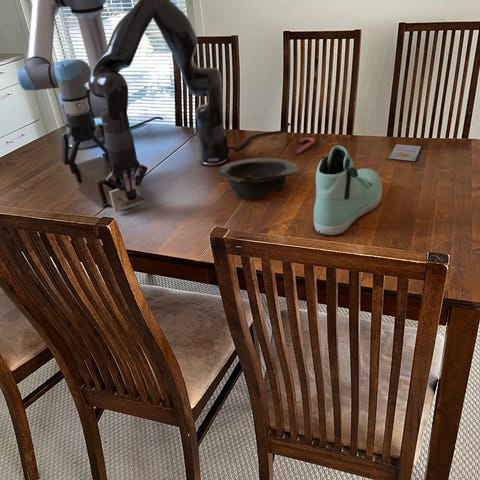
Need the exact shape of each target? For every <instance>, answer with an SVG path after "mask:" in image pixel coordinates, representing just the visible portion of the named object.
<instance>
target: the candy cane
mask: <svg viewBox="0 0 480 480" xmlns="http://www.w3.org/2000/svg"><path fill="white" fill-rule="evenodd" d="M304 142H308V143H306V144H305V145H303V146H302V147H300V148H298V149H296V152H295V153H296V154H297V155H299V154H301V153H303V152H304V151H305V150H307V149H308V148H310V147H312V145H314V144H315V143H316V139H315V138H313V137H310V136H309V137H308V136H307V137H302V138H300V140H299V143H300V144H302V143H304Z"/></svg>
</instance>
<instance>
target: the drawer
mask: <svg viewBox="0 0 480 480" xmlns="http://www.w3.org/2000/svg"><path fill="white" fill-rule="evenodd" d="M115 182H117V183H118V184H120V185H122V182H121V181H120V179H119V178H116V180H115ZM100 186H101V190H102V194H103V198H104V201H105V202H107V203H108V204H109V205H108V206H110V207H112V209H113V212H114V213H118V212H121V211H125V210H127V209H129V208H132V207H135V206H137V205H140V204H142V203H143V202H142V201H145V197H144V195H141V192H140V185H139V186H136V188H135V190H136V195H137V198H136V199H133V200H130V201H129V200H127V198H126V195H125V191H121V190H119V189H118V188H116V187H115V186H114V185H112V184H111V183H109V182H108V181H107V182H104V183H101V184H100Z"/></svg>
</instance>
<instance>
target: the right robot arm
mask: <svg viewBox="0 0 480 480" xmlns="http://www.w3.org/2000/svg"><path fill="white" fill-rule="evenodd" d="M152 20H153V21H154V23H155V24H156V26H157V28H158V30H159V32H160V34H161V36H162V38H163V40H164V42H165V43H166V45H167V47H168V49H169V51H170V52H171V54H172V56H173V58H174V59H175V61H176V64H177V66H178V67H179V70H180V72H181V75H182V77H183V80H184V82H185V84H186V87H187V89H188V91H189V92H190V94H192V95H193V96H194V97H195V96H196V97H207V98H208V100H207V101H208V102H207V103H204V104H201V105H199V106H198V107H196V110H195V116H196V124H197V132H198V133H197V134H198V141H199V150H200V160H201V164H202V165H204V166H207V167H217V166H221V165H225V164H226V163H227V162H228V161H230V158H229V157H230V156H229V154H230V152H231V151H230V150H233V151H234V152H238V151H240V150H241V149H242V148H243V147H245V146H246V145H247V144H248V142H249V141H250V140H251V139H254V138H256V137H263V136H266V135H271V134H281V133H284V132H286V131H287V130H288V129H289V126H292V125H291V122H287V124H286V126H285V128H284V129H281V130H274V131H269V132H268V131H267V132H262V133H258V134H254V135H251V136H248V138H247V139H246V140H245V142H244V143H243V144H242V145H240V146H239V147H236V148H235V147H234V146H229V145H228V137H227V135H226V134H225V126H224V116H223V115H224V113H223V105H224V104H223V101H224V100H223V79H222V74H221V72H220V70H219V69H218V68H216V67H198V66H197V65H196V63H195V61H194V56H195V53H196V50H197V45H198V37H197V34H196V32H195V29H194V27H193V25H192V23H191V21H190V19H189V18H188V16H187V15H186V14H185V13H184V12H183V10H181V9H180V8H179V7H178V6H177V5H176V4H175V3H174V2H172V1H171V0H138V1H137V2H136V4H135V5H134V6H133V7H132V8H131V9H130V10H129V11H128V12H127V13H126V14H125V15H124V16H123V17H122V18H121V20H119V22H118V23H117V24H116V26H115V27H114V30H113V31H112V34H111V37H110V38H109V41H108V43H107V44H108V46H107V49H106V51H105V53H104V54H103V55H102V56H101V58H100V59H99V60H98V62H97V63H96V65H95V66H94V68H93V69H92V71H91V73H90V76H89V80H88V83H87V85H88V86H87V87H88V89H89V90H90V92H91V93H92V94H93V95H94V96H96V97H99V98H105V99H106V100H107V107H106V108H104V109H103V110H102V111H101V118H100V119H101V122H102V123H101V124H102V125H103V129H104V134H105V142H106V143H105V142H104V143H105V147H106V148H107V150H108V155H109V159H110V163H111V169H110V171H111V173H110V174H109V176H106V177H105V180H107V181H108V182H109V183H111V184H112V185H114V186H115V187H116V188H118V189H119V190H121V191H125V195H126V198H127V200H129V201H130V200H133V199H136V198H137V195H136V190H135V188H136V186H139V187H140V186H141V185H142V182H143V180H144V177H145V176H146V174H147V171H148V167H147V166H146V165H145V164H141V163H140V161H139V160H138V156H137V151H136V146H135V141H134V136H133V132H132V129H130V127H131V126H130V120H129V115H128V107H129V86H128V83H127V80H126V78H125V77H124V76H123V74H121V73H120V71H122V70H124V69H127V68H129V67H130V66H131V65H132V63H133V61H134V58H135V57H136V53H137V51H138V48H139V46H140V43H141V41H142V39H143V36H144V34H145V32H146V31H147V29H148V27H149V25H150V23H151V22H152ZM114 175H115V176H116V177H118V178H119V179H120V181H121V182H122V185H120V184H118V183H117V182H115V180H116V179H115V177H114Z"/></svg>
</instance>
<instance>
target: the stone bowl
mask: <svg viewBox="0 0 480 480" xmlns="http://www.w3.org/2000/svg"><path fill="white" fill-rule="evenodd" d="M298 170H299V169H298V167H297V166H296V164H295V163H293V162H291V161H289V160H287V159H281V158H272V157H271V158H269V157H255V158H243V159H239V160H235V161H232V162H231V161H230V162H228V163H224V164H222V166H221V168H220V169H219V170H217V173H219V174H220V175H221V176H223V177H224V178H226V179H227V180H228V182H229V186H230V188H231V190H232V191H234V192H235V193H236V196H237V198H239V199H241V200H243V199H245V200H251V201H252V200H255V199H257V200H262V199H264V198H266V197H267V196H268V193H269V194H273V193H281V192H282V191H284V190H285V189H284V188H285V185H286V183H287V182H286V181H287V177H289V176H290V175H292V174H294V173H296V172H297V171H298Z"/></svg>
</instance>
